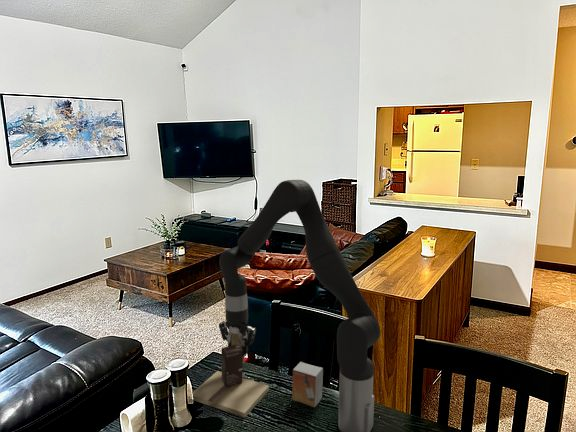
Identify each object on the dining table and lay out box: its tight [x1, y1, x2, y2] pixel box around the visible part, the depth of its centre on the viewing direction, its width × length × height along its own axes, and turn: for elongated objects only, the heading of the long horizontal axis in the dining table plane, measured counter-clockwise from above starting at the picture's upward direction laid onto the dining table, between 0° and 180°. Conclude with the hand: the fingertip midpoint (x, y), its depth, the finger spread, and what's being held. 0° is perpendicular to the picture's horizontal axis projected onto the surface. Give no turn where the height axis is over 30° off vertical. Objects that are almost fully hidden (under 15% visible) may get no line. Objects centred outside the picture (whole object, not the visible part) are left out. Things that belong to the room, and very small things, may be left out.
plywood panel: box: [192, 370, 270, 418], centre depth 133 cm, size 20×15×2 cm
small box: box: [291, 361, 324, 408], centre depth 130 cm, size 8×6×10 cm
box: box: [221, 344, 244, 387], centre depth 136 cm, size 6×4×12 cm
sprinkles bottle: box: [231, 327, 246, 365], centre depth 142 cm, size 5×5×13 cm
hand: (238, 353), depth 143 cm, fingers closed on sprinkles bottle, 4 cm apart
